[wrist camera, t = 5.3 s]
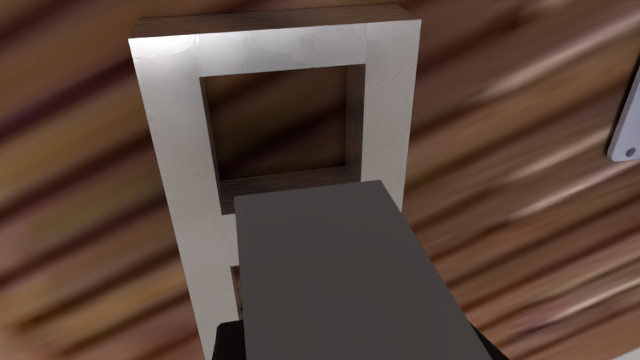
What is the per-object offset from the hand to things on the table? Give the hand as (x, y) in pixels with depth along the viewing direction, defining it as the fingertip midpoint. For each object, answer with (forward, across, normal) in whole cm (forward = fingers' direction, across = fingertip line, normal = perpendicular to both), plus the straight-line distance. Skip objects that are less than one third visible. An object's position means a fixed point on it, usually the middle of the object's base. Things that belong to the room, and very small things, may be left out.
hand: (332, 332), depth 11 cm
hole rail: (+9, 0, +6) cm, 11 cm away
